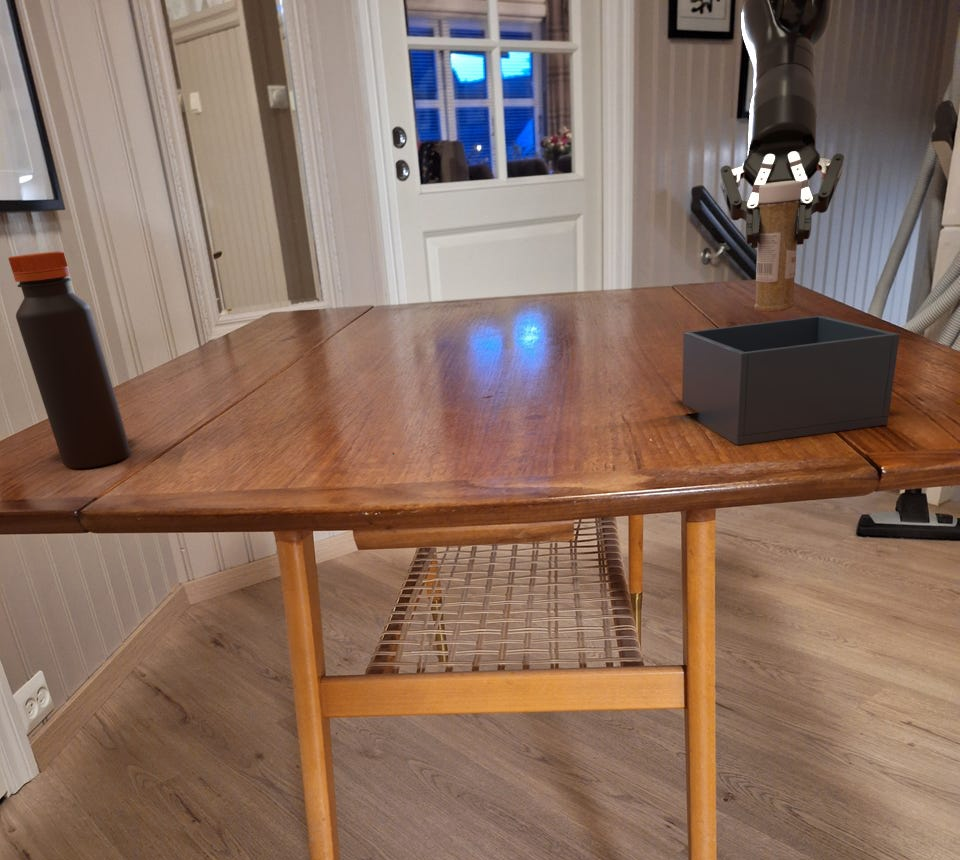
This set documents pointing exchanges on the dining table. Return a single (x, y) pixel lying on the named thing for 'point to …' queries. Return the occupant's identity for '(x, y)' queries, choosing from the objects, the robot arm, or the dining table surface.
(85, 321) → the vinegar
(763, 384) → the open storage bin
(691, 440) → the dining table surface
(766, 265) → the sprinkles bottle
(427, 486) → the dining table surface
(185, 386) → the dining table surface
